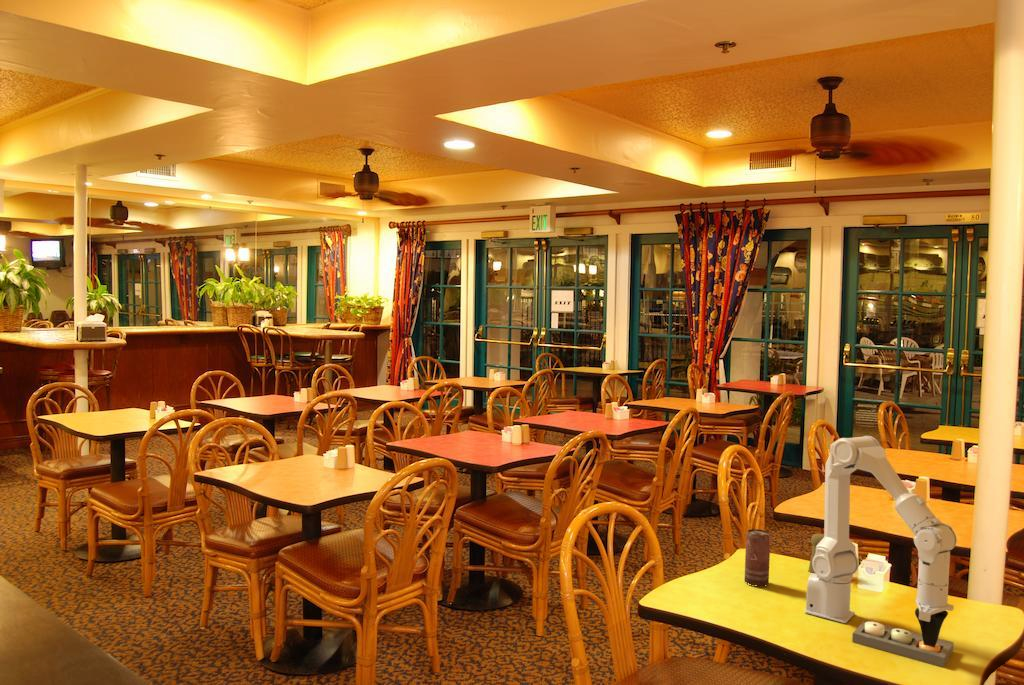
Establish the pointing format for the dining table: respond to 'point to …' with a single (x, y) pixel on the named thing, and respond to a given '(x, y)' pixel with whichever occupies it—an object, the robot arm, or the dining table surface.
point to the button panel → (904, 645)
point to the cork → (814, 549)
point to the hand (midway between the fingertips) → (929, 644)
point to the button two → (901, 636)
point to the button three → (929, 647)
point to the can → (757, 557)
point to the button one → (874, 629)
